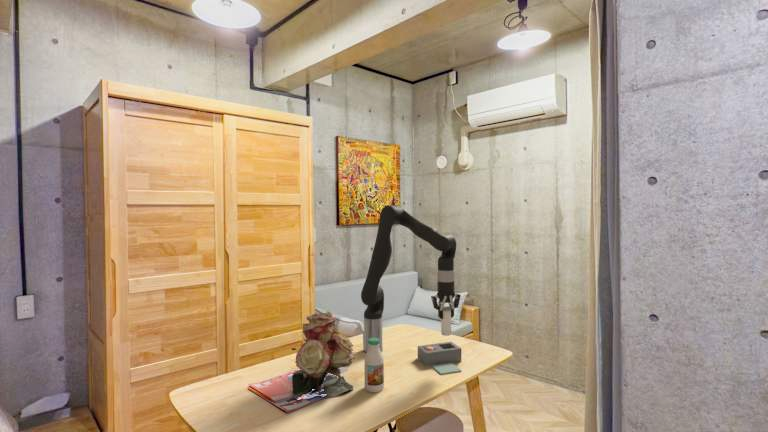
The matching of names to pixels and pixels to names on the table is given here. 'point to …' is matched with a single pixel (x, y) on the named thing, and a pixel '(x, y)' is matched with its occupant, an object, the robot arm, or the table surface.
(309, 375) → the rose bouquet
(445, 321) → the cartridge
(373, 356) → the milk bottle
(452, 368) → the mat
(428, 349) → the orange egg
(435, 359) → the housing
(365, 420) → the table surface
